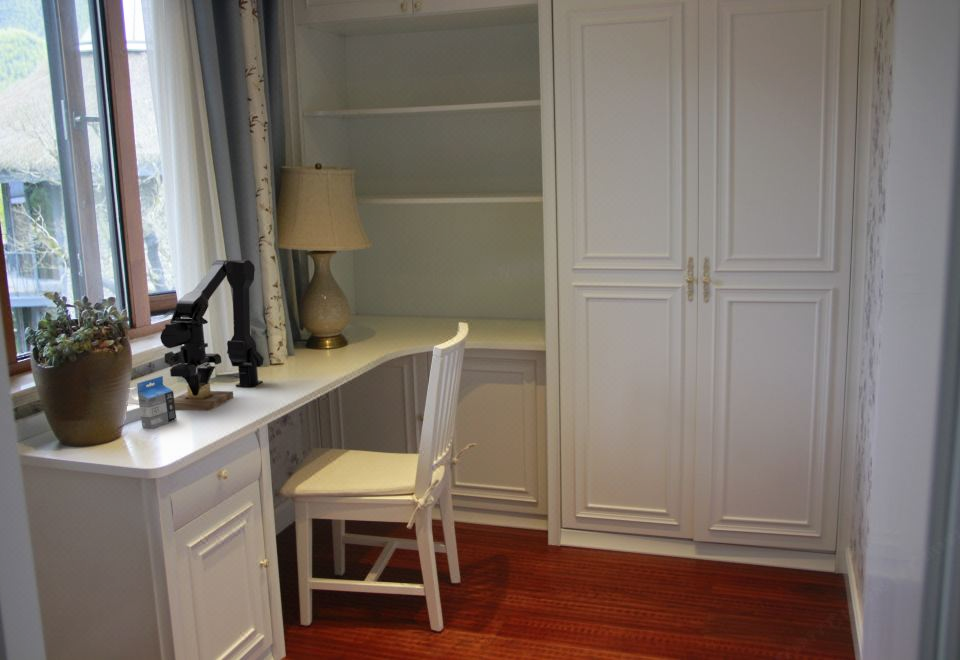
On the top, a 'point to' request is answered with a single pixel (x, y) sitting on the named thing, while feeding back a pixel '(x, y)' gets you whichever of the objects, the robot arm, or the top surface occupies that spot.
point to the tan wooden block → (200, 392)
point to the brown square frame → (202, 401)
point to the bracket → (133, 407)
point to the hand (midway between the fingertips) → (199, 393)
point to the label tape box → (156, 403)
